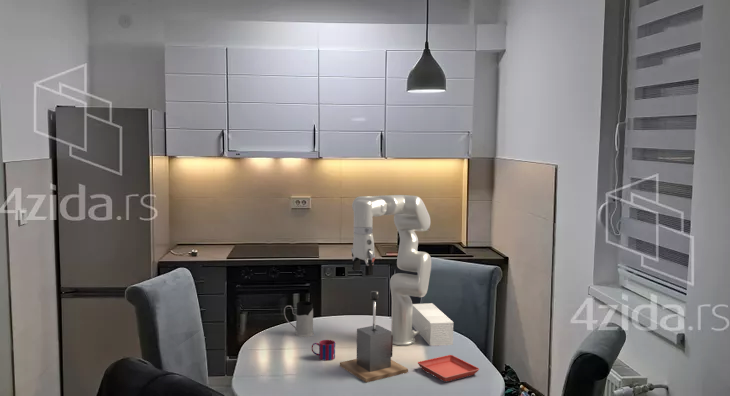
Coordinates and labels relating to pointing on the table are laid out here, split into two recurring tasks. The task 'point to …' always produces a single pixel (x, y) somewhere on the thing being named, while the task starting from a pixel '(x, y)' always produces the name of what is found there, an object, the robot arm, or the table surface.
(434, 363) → the plant saucer
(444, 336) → the white rectangular block
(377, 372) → the board
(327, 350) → the mug
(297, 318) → the grey and black pitcher
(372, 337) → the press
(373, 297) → the plunger
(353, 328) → the table surface
